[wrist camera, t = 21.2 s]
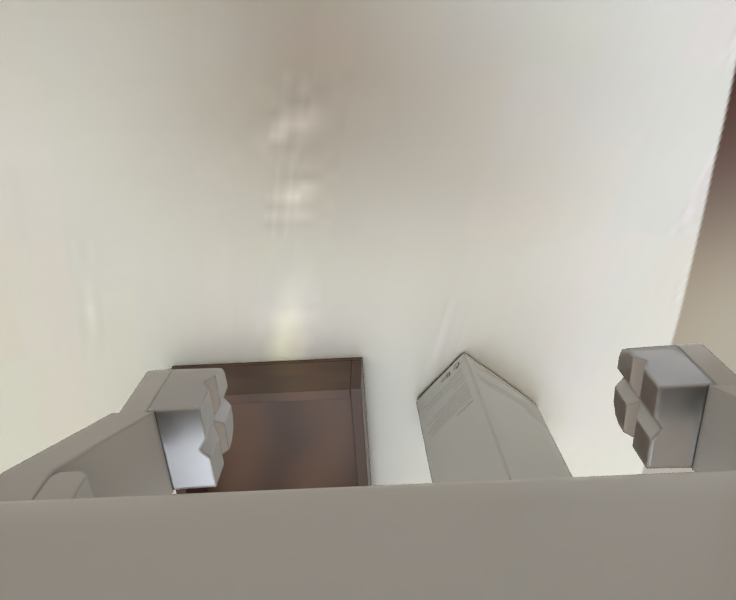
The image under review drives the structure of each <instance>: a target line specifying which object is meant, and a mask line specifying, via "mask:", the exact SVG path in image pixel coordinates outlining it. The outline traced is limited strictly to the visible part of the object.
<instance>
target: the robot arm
mask: <svg viewBox="0 0 736 600" xmlns="http://www.w3.org/2000/svg"><path fill="white" fill-rule="evenodd" d="M618 369H619V371H620V372H621V374H622V375H623V376H624V378H623V379H622V380H621V381H620V382H619V383H618V384H617V385H616V387H615V394H614V407H615V415H616V418H617V420H618V423H619V425H620V427H621V428H622V430H623V432H625V433H626V434H628V435H630V436H632V437H634V439H633V448H634V449H635V451H636V452H637V454H638V456H639V457H640V459H641V460H642V462H643V463H644V465H645V466H646V468H692V470H694V471H695V472H684V473H660V474H636V475H612V476H589V477H566V478H542V479H519V480H496V481H472V482H448V483H425V484H401V485H378V486H354V487H330V488H307V489H283V490H260V491H236V492H212V493H189V494H172V493H173V490H178V489H192V488H206V487H216V486H217V483H218V480H219V478H220V475H221V472H222V469H223V466H224V460H223V454H224V453H225V452H227V451H228V450H229V449H230V446H231V442H232V437H233V428H234V425H233V413H232V407H231V404H230V403H229V402H228V401H227V400H226V399H225V398H224V395H225V393H226V390H227V388H228V385H227V380H226V376H225V372H224V371H223V369H222V368H205V369H175V370H173V369H166V370H153V371H148V372H147V373H146V374H145V376H144V377H143V379H142V380H141V382H140V383H139V385H138V386H137V388H136V389H135V390H134V392H133V393H132V395H131V396H130V398H129V399H128V401H127V402H126V404H125V405H124V407H123V408H122V410H121V411H120V413H112V414H110V415H108V416H106V417H104V418H102V419H101V420H99V421H97V422H95V423H93V424H91V425H90V426H88V427H86V428H84V429H82V430H80V431H78V432H77V433H75V434H73V435H71V436H69V437H67V438H66V439H64V440H62V441H60V442H58V443H56V444H55V445H53V446H51V447H49V448H47V449H45V450H43V451H42V452H40V453H38V454H36V455H34V456H32V457H31V458H29V459H27V460H25V461H23V462H21V463H19V464H18V465H16V466H14V467H12V468H10V469H8V470H7V471H5V472H3V473H2V474H1V475H0V600H736V374H734V373H733V372H732V371H731V370H730V369H729V368H728V367H727V366H726V365H725V364H724V363H723V362H722V361H721V360H719V359H718V358H717V357H716V356H715V355H714V354H713V353H712V352H711V351H710V350H709V349H707V347H705V346H704V345H702V344H699V343H694V344H683V345H667V346H654V347H640V348H627V349H622V351H621V353H620V356H619V361H618Z"/></svg>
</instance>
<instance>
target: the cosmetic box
mask: <svg viewBox="0 0 736 600" xmlns="http://www.w3.org/2000/svg"><path fill="white" fill-rule="evenodd" d="M417 408H418V413H419V419H420V424H421V429H422V434H423V439H424V444H425V449H426V454H427V459H428V464H429V469H430V474H431V479H432V483H448V482H472V481H496V480H519V479H542V478H566V477H572V475H571V473H570V471H569V469H568V467H567V465H566V463H565V461H564V459H563V457H562V455H561V453H560V451H559V449H558V447H557V445H556V443H555V441H554V439H553V437H552V435H551V433H550V431H549V429H548V427H547V425H546V423H545V421H544V419H543V417H542V415H541V413H540V411H539V409H538V407H537V405H536V404H535V403H533V402H532V401H531V400H529V399H528V398H527V397H525V396H524V395H522V394H521V393H520V392H518V391H517V390H516V389H514V388H513V387H512V386H510V385H509V384H508V383H506V382H505V381H503V380H502V379H501V378H499V377H498V376H496V375H495V374H494V373H492V372H491V371H489V370H488V369H486V368H485V367H483V366H482V365H480V364H479V363H477V362H476V361H475V360H473V359H472V358H471V357H470V356H468V355H467V354H465V353H464V354H462V355H461V356H460V357H459V358H458V359H457V360H456V361H455V362H454V363H453V364H452V366H451V367H450V368H449V369H448V370H447V371H446V372H445V373H443V374H442V375H441V376H440V377H439V379H437V380H436V381H435V382H434V383H433V384H432V385H431V386H430V387H429V388H428V389H427V390H426V391H425V392H424V393H423V394H422V395H421V396H420V397H419V398H418V401H417Z"/></svg>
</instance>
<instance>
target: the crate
mask: <svg viewBox="0 0 736 600" xmlns="http://www.w3.org/2000/svg"><path fill="white" fill-rule="evenodd" d="M205 368H222V369H223V371H224V372H225V376H226V380H227V385H228V388H227V390H226V393H225V395H224V398H225V399H226V400H227V401H228V402H229V403H230V404H231V407H232V413H233V425H234V428H233V437H232V442H231V446H230V449H229V450H228V451H227V452H225V453H224V454H223V460H224V466H223V469H222V472H221V475H220V478H219V480H218V483H217V486H216V487H206V488H192V489H178V490H176V493H177V494H189V493H212V492H236V491H260V490H283V489H307V488H330V487H354V486H371V472H370V457H369V443H368V429H367V415H366V401H365V387H364V373H363V359H362V358H342V359H321V360H299V361H278V362H257V363H235V364H214V365H193V366H173V367H172V368H171V369H173V370H175V369H205Z"/></svg>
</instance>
